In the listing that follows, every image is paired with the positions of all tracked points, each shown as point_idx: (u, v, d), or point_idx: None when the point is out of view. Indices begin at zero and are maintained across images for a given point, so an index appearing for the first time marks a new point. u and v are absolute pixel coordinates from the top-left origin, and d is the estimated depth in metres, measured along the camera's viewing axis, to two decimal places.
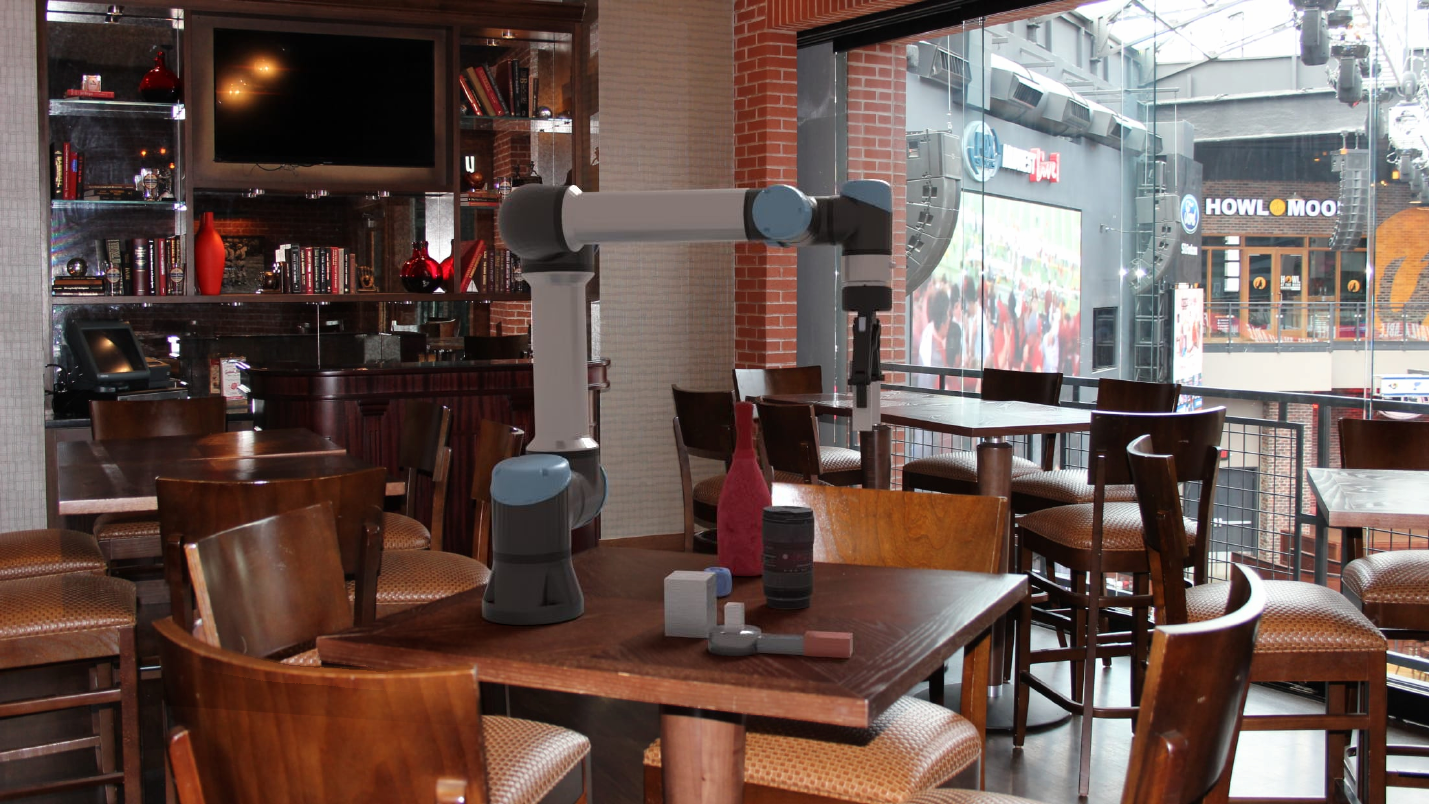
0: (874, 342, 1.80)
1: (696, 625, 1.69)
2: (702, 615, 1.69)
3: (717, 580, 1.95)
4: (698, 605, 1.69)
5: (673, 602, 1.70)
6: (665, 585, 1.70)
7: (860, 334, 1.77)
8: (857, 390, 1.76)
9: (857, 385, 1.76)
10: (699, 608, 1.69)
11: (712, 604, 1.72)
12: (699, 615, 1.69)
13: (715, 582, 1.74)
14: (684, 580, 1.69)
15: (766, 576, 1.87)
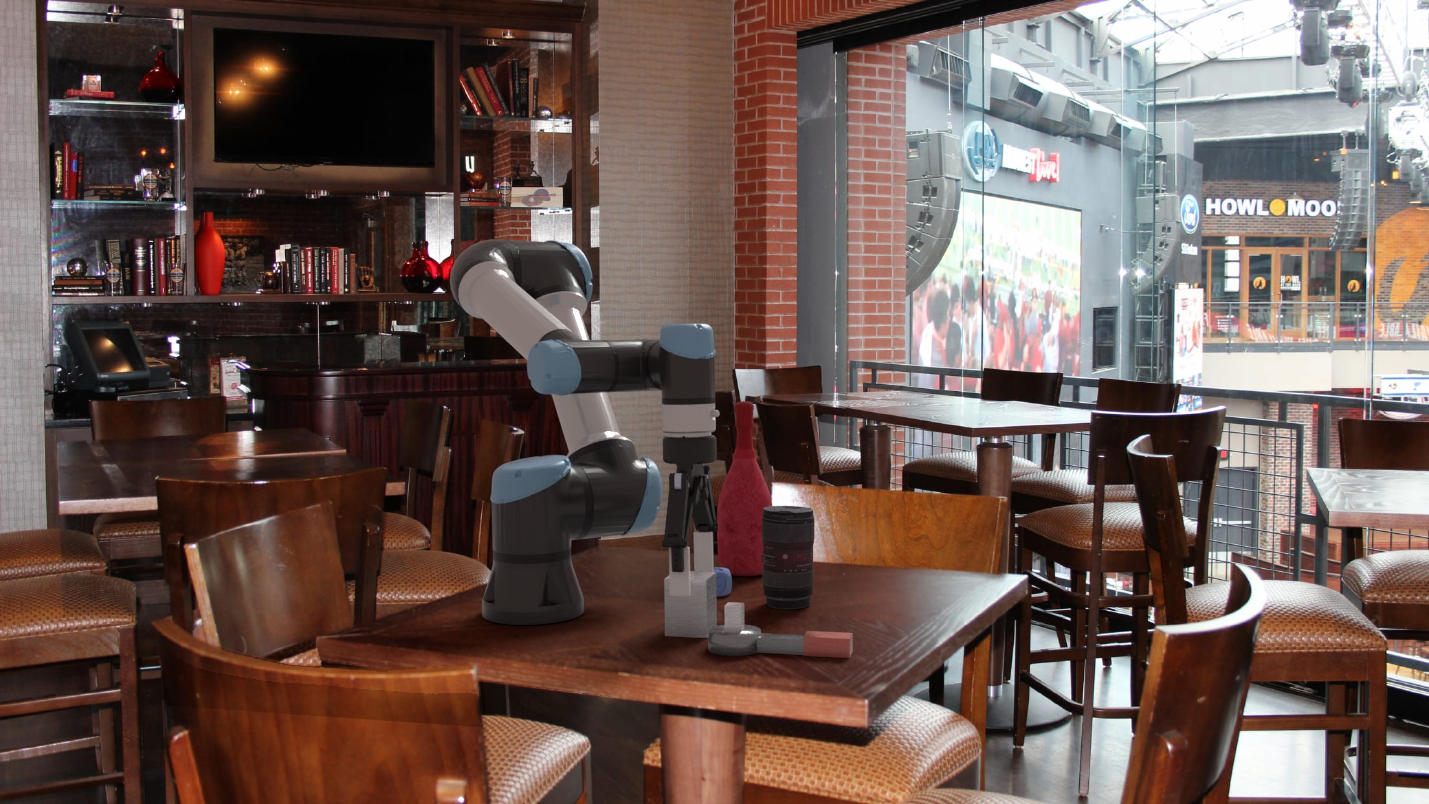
0: (694, 498, 1.67)
1: (696, 625, 1.69)
2: (702, 615, 1.69)
3: (717, 580, 1.95)
4: (698, 605, 1.69)
5: (673, 602, 1.70)
6: (665, 585, 1.70)
7: (675, 492, 1.64)
8: (672, 553, 1.64)
9: (672, 548, 1.63)
10: (699, 608, 1.69)
11: (712, 604, 1.72)
12: (699, 615, 1.69)
13: (715, 582, 1.74)
14: None
15: (766, 576, 1.87)
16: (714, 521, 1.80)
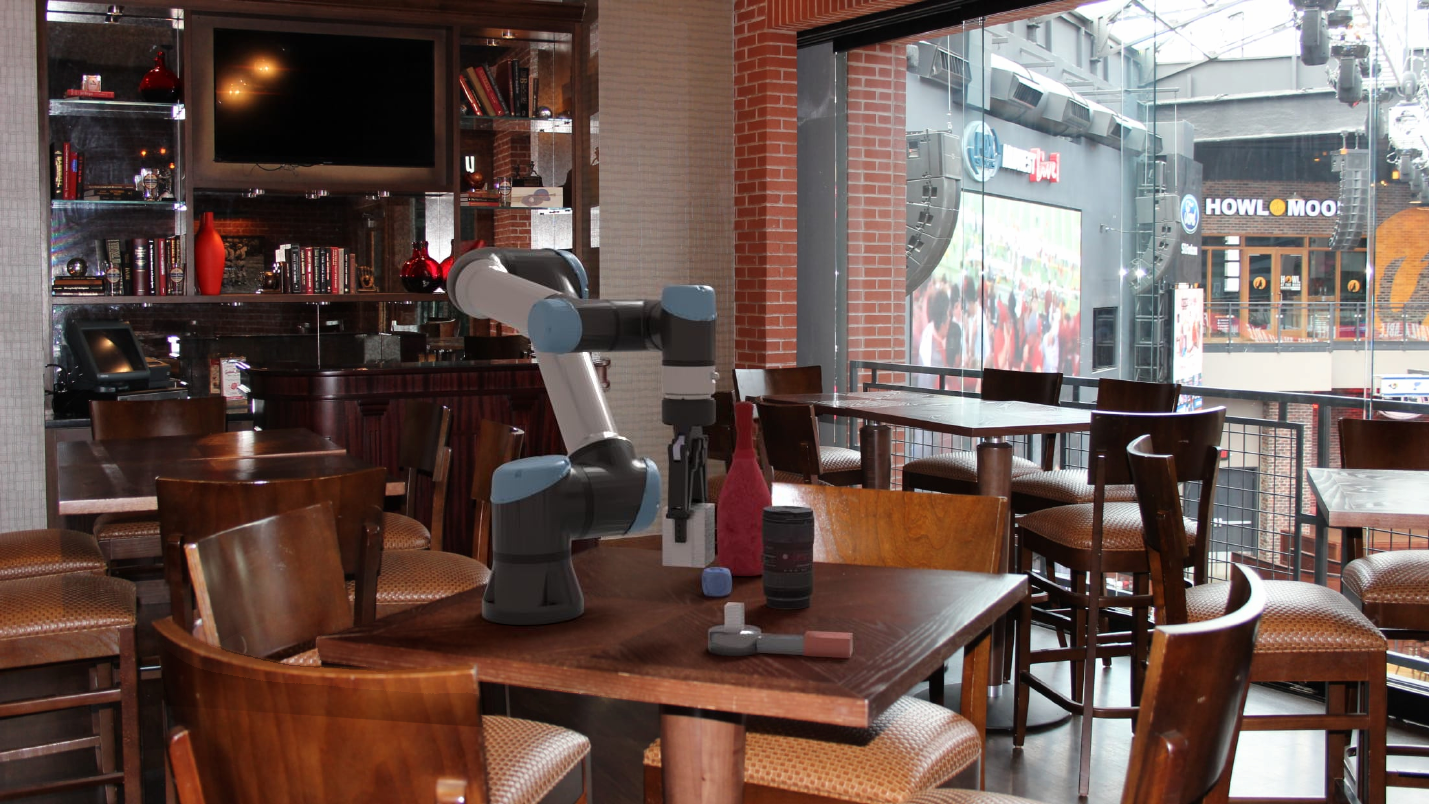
0: (693, 465, 1.68)
1: (693, 554, 1.69)
2: (700, 545, 1.69)
3: (717, 580, 1.95)
4: (696, 535, 1.69)
5: (671, 532, 1.70)
6: (663, 515, 1.70)
7: (675, 464, 1.65)
8: (675, 524, 1.67)
9: (675, 519, 1.67)
10: (697, 538, 1.69)
11: (710, 535, 1.72)
12: (697, 545, 1.69)
13: (713, 513, 1.74)
14: None
15: (766, 576, 1.87)
16: (706, 498, 1.77)
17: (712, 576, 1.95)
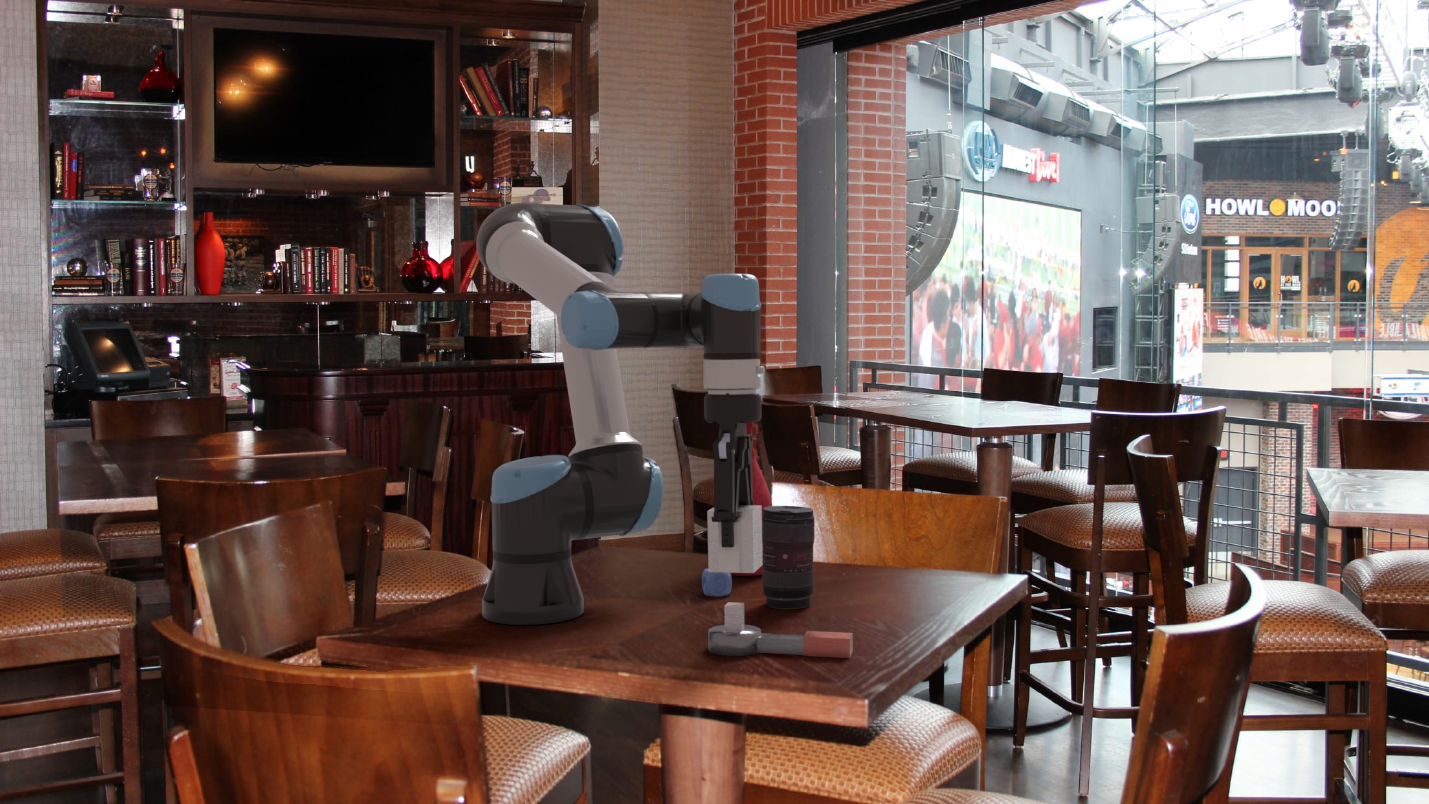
0: (740, 465, 1.58)
1: (741, 559, 1.59)
2: (748, 548, 1.59)
3: (717, 580, 1.95)
4: (744, 538, 1.59)
5: (717, 535, 1.59)
6: (708, 517, 1.60)
7: (721, 463, 1.55)
8: (722, 528, 1.57)
9: (722, 522, 1.57)
10: (745, 541, 1.59)
11: (758, 538, 1.62)
12: (745, 549, 1.59)
13: (760, 516, 1.64)
14: None
15: (766, 576, 1.87)
16: (751, 501, 1.67)
17: (712, 576, 1.95)
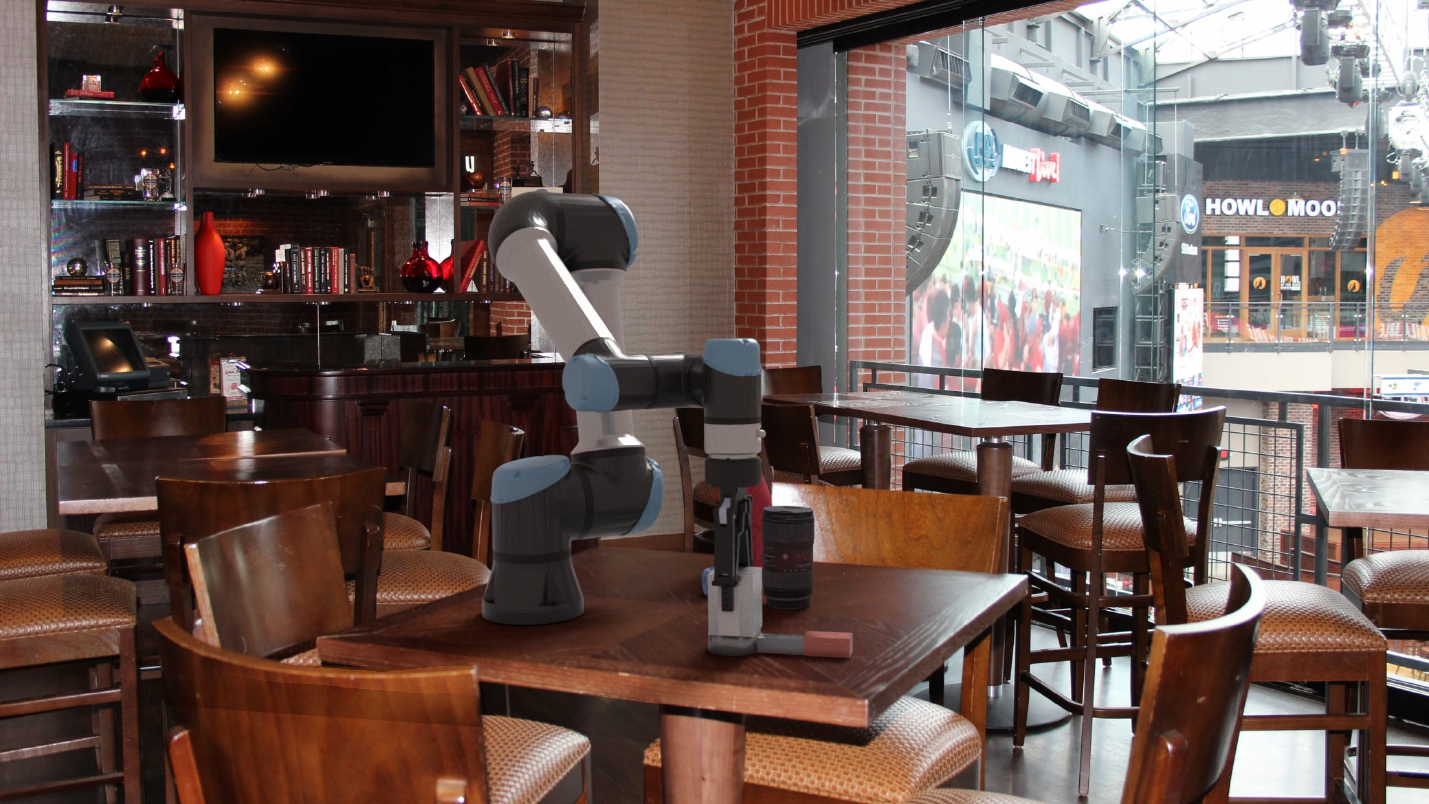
0: (740, 529, 1.59)
1: (741, 623, 1.59)
2: (748, 612, 1.59)
3: None
4: (744, 602, 1.59)
5: (717, 599, 1.60)
6: (709, 581, 1.60)
7: (721, 528, 1.56)
8: (722, 592, 1.58)
9: (722, 587, 1.58)
10: (745, 605, 1.59)
11: (758, 601, 1.62)
12: (745, 613, 1.59)
13: (761, 578, 1.64)
14: None
15: (766, 576, 1.87)
16: (751, 562, 1.68)
17: None
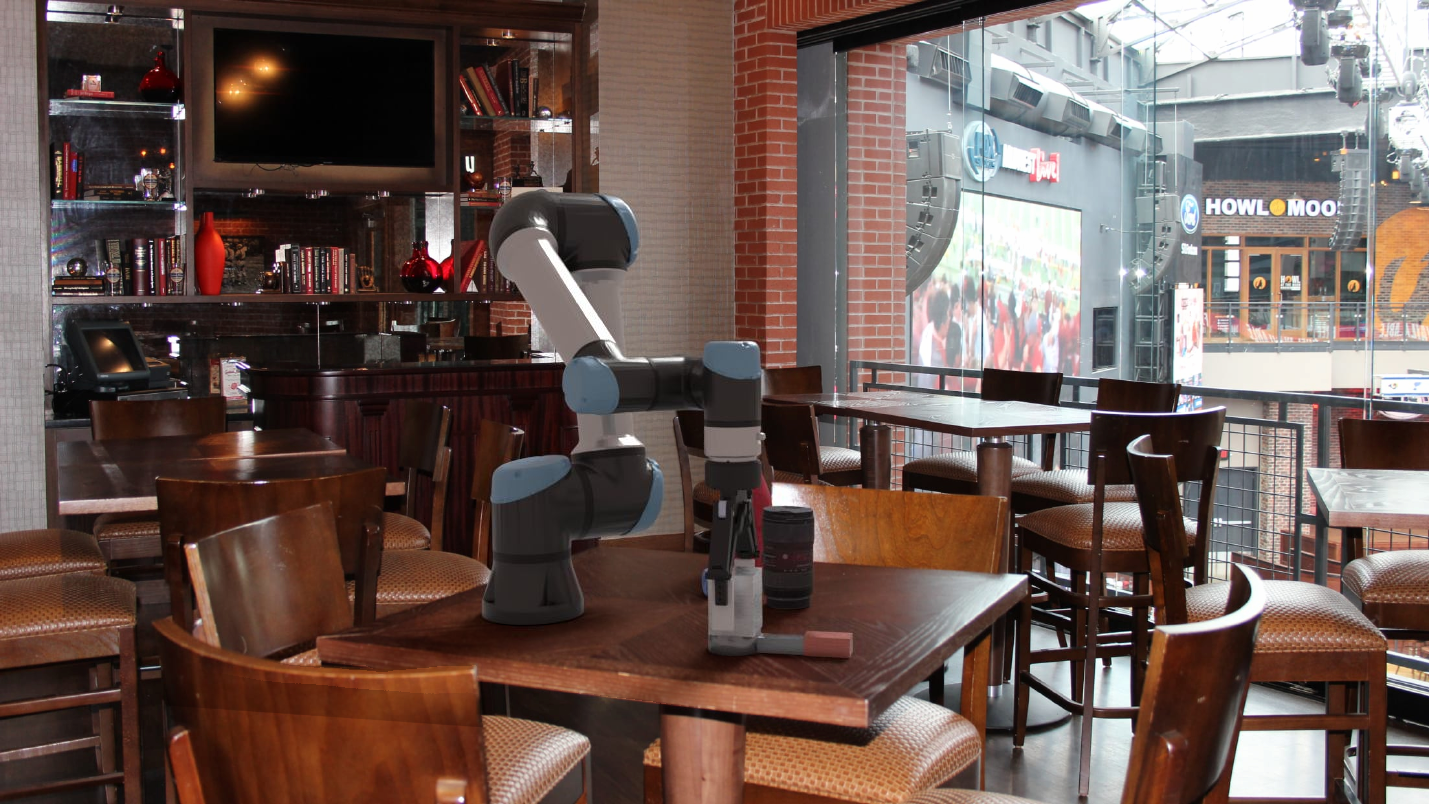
0: (738, 527, 1.58)
1: (741, 623, 1.59)
2: (748, 613, 1.59)
3: None
4: (744, 602, 1.59)
5: None
6: (709, 581, 1.60)
7: (719, 521, 1.55)
8: (716, 586, 1.54)
9: (715, 580, 1.54)
10: (745, 605, 1.59)
11: (758, 601, 1.62)
12: (745, 613, 1.59)
13: (761, 578, 1.64)
14: None
15: (766, 576, 1.87)
16: (756, 547, 1.71)
17: None
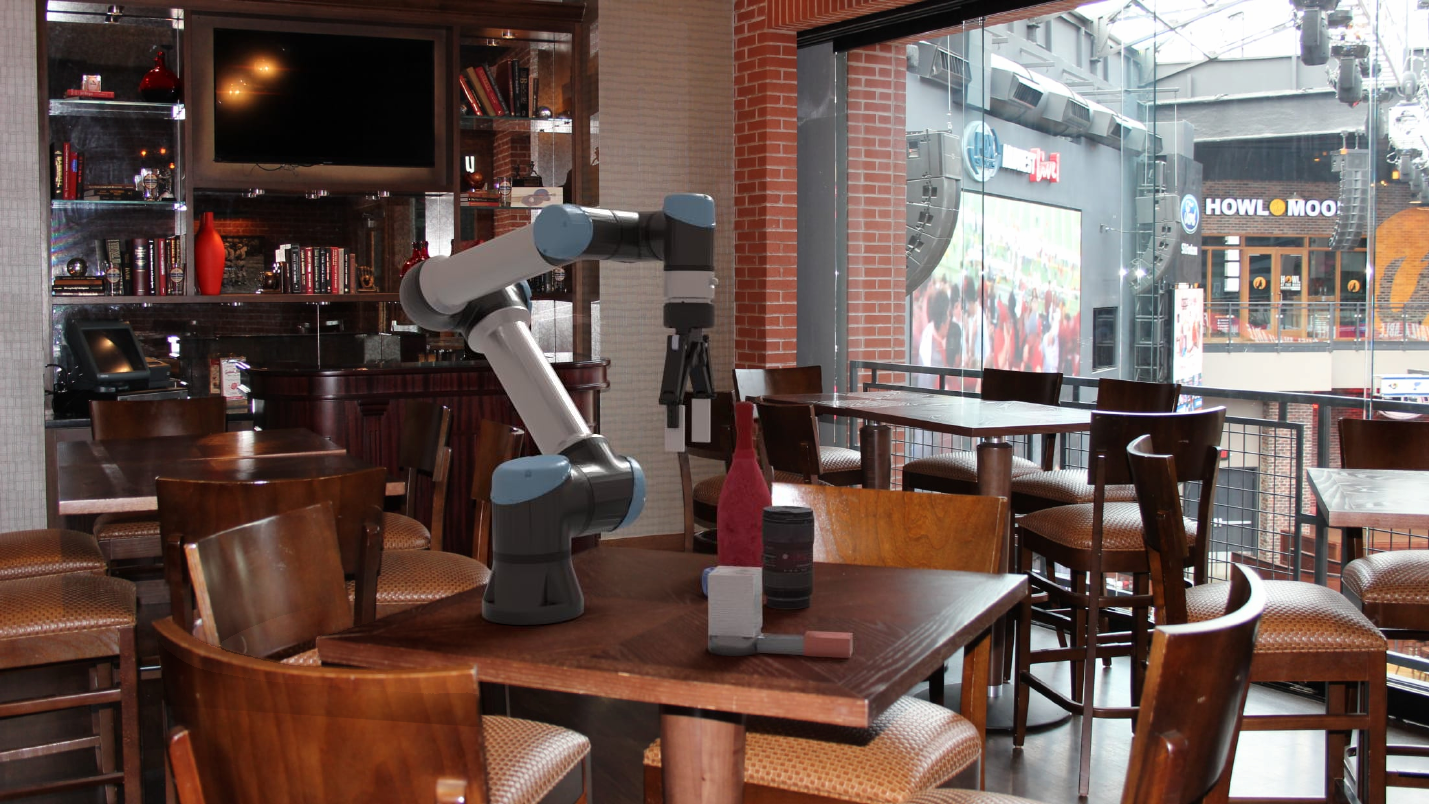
0: (691, 360, 1.75)
1: (741, 623, 1.59)
2: (748, 613, 1.59)
3: None
4: (744, 602, 1.59)
5: (717, 599, 1.60)
6: (709, 581, 1.60)
7: (672, 352, 1.72)
8: (668, 410, 1.72)
9: (667, 405, 1.72)
10: (745, 605, 1.59)
11: (758, 601, 1.62)
12: (745, 613, 1.59)
13: (761, 578, 1.64)
14: (729, 576, 1.60)
15: (766, 576, 1.87)
16: (712, 390, 1.88)
17: None
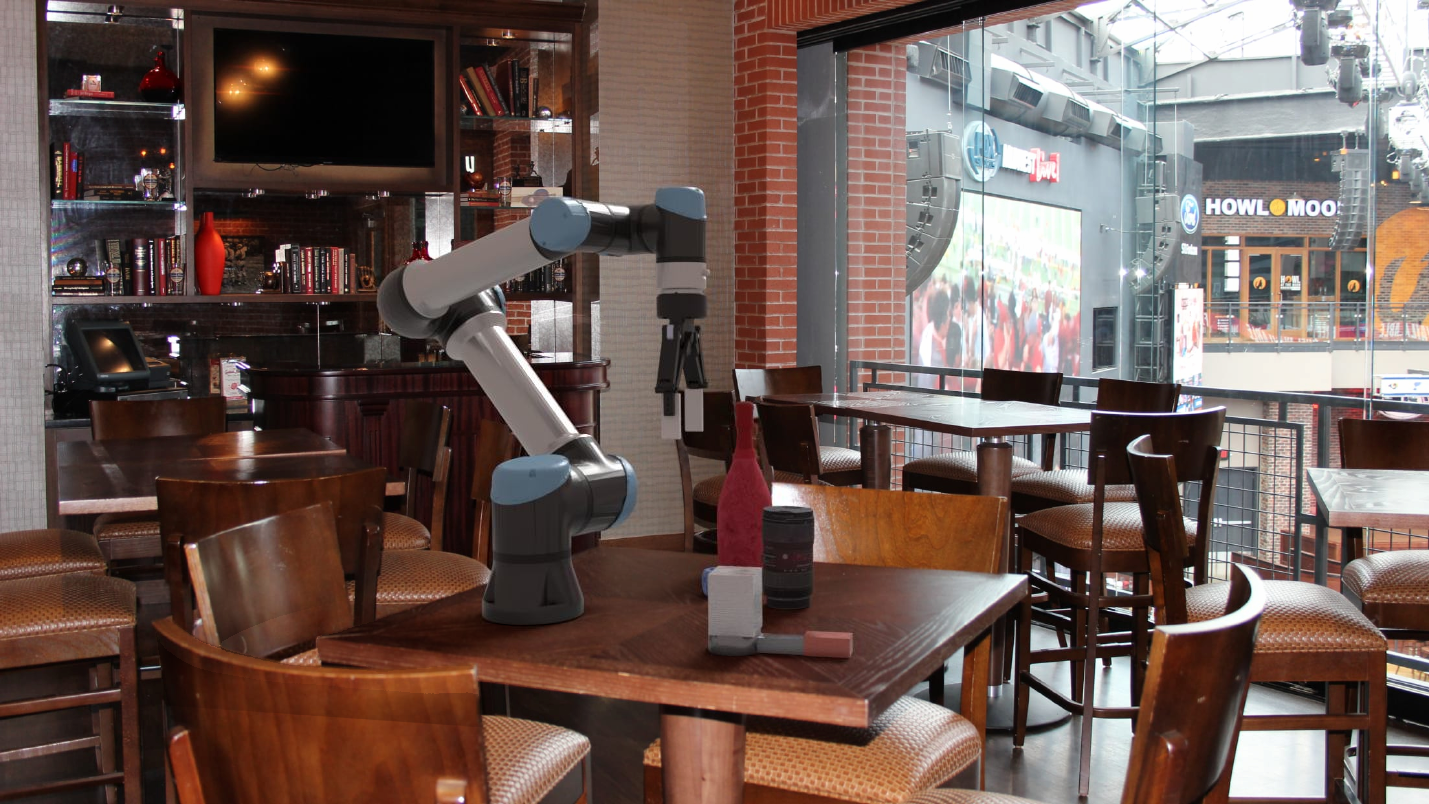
0: (685, 350, 1.79)
1: (741, 623, 1.59)
2: (748, 613, 1.59)
3: None
4: (744, 602, 1.59)
5: (717, 599, 1.60)
6: (709, 581, 1.60)
7: (668, 342, 1.76)
8: (664, 398, 1.75)
9: (664, 393, 1.75)
10: (745, 605, 1.59)
11: (758, 601, 1.62)
12: (745, 613, 1.59)
13: (761, 578, 1.64)
14: (729, 576, 1.60)
15: (766, 576, 1.87)
16: (704, 380, 1.92)
17: None
